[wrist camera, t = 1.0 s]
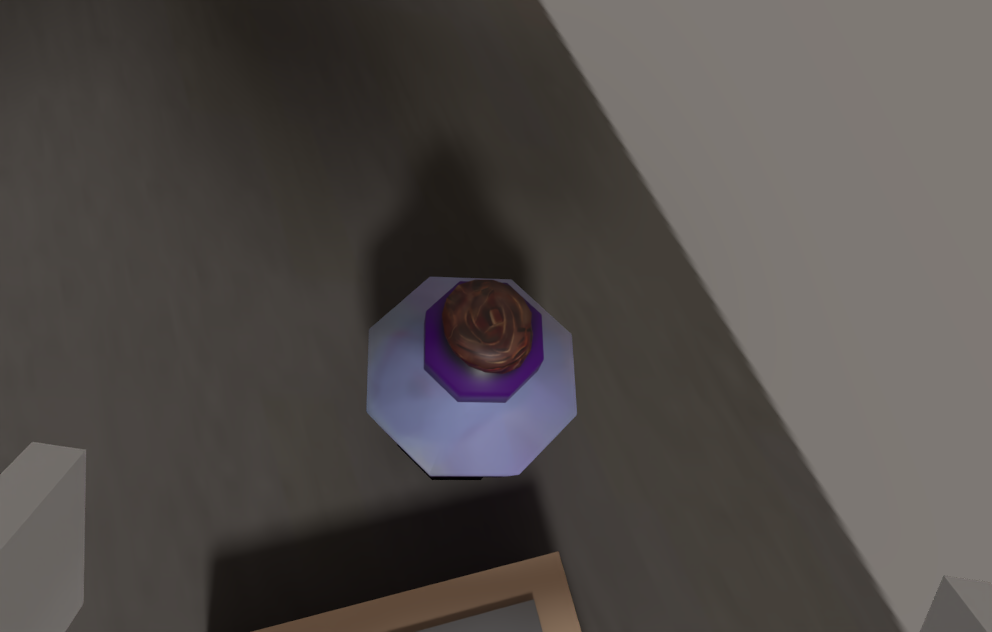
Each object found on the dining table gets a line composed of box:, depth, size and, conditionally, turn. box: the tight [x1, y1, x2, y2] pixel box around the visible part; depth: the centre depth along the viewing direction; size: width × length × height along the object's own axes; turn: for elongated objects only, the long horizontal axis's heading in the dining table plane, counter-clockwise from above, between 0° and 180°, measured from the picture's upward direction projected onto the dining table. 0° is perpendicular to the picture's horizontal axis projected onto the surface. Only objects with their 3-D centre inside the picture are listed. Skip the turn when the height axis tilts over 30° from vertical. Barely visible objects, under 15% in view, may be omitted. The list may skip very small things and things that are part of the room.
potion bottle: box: [367, 277, 577, 480], centre depth 35 cm, size 9×9×12 cm
